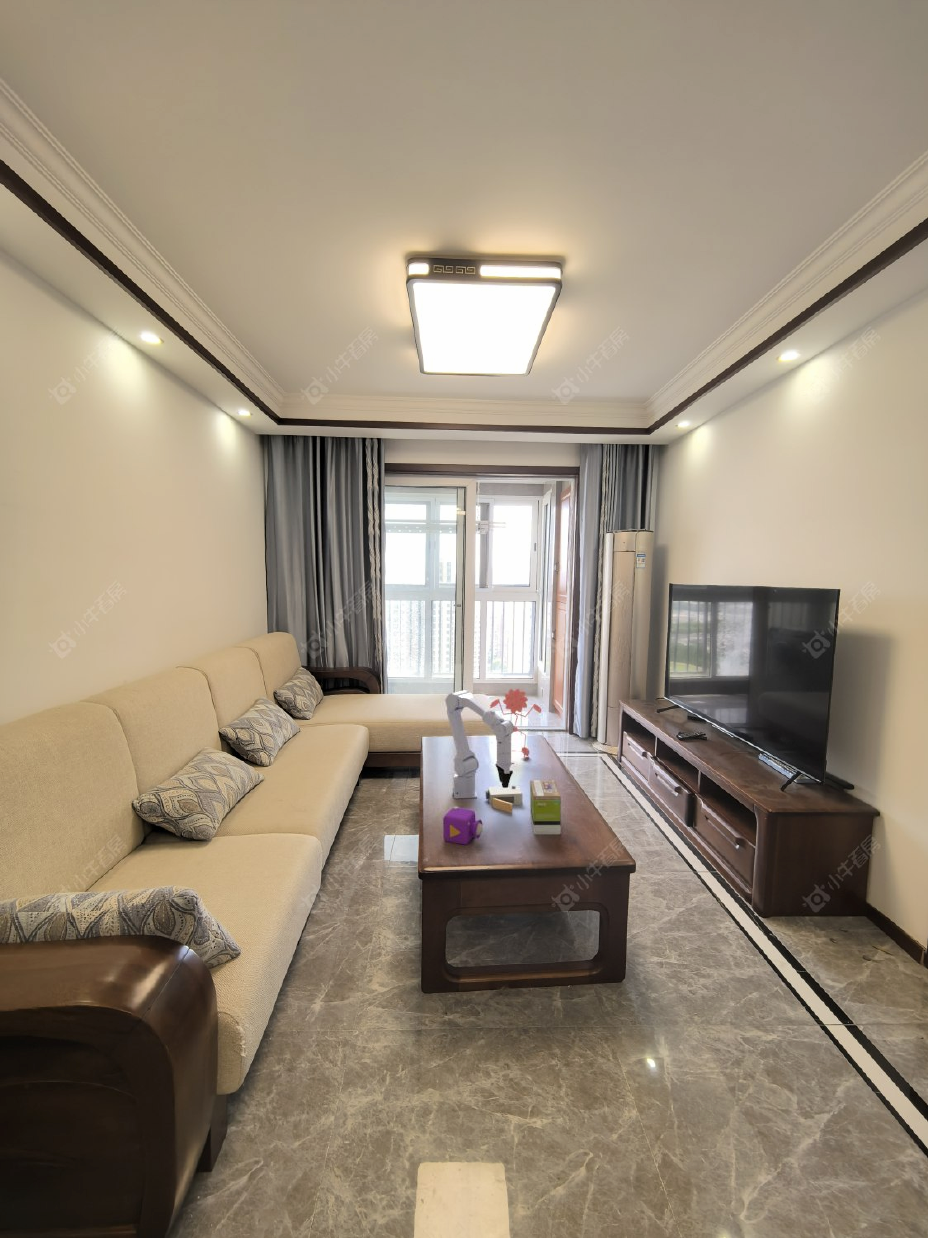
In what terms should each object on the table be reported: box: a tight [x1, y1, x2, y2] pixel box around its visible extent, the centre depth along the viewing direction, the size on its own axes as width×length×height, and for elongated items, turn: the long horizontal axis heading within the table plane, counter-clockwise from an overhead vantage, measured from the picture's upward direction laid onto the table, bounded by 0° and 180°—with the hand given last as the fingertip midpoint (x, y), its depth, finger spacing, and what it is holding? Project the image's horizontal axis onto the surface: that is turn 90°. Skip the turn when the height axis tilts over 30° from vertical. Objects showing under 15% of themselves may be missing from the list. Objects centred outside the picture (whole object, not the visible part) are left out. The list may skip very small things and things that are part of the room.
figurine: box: [489, 688, 542, 761], centre depth 277 cm, size 15×26×35 cm, turn 86°
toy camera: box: [442, 805, 483, 845], centre depth 191 cm, size 11×14×10 cm
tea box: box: [529, 779, 562, 835], centre depth 201 cm, size 15×10×15 cm, turn 178°
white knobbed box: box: [485, 785, 523, 806], centre depth 223 cm, size 14×8×5 cm, turn 96°
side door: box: [490, 797, 513, 814], centre depth 215 cm, size 10×1×4 cm, turn 51°
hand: (503, 784), depth 216 cm, fingers open, 5 cm apart
